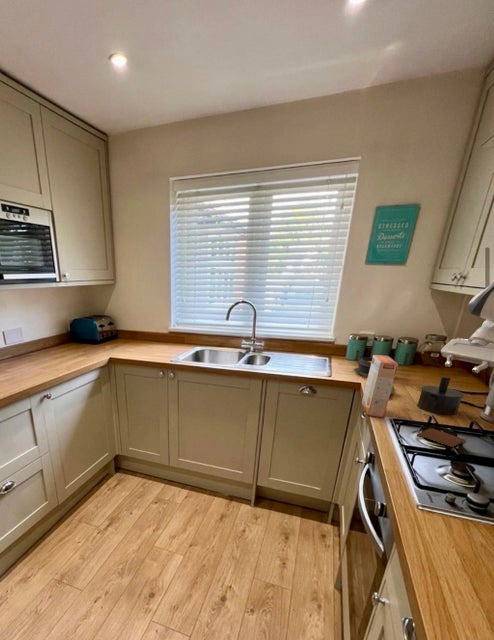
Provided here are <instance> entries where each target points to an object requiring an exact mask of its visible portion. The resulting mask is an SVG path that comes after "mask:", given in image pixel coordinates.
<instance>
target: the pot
mask: <svg viewBox="0 0 494 640" xmlns="http://www.w3.org/2000/svg"><path fill="white" fill-rule="evenodd" d="M420 391H421V392H420V394H419V398H418V401H417V404H416V406H417V408H418V409H419V410H422V411H424V412H427V413H430V414H434V415H440V416H447V417H448V416H449V417H450V416H455V415H457V414H458V411H459V408H460V406H461V403H462V399H463V397H462V398H448V397H441V396H436V395H432V394H429V393H426V392H424V391H422V390H420ZM430 414H425V413H424V415H425V416H428V417H430ZM434 418H435V419H436V418H437V417H435V416H434Z"/></svg>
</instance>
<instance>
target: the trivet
mask: <svg viewBox="0 0 494 640" xmlns="http://www.w3.org/2000/svg"><path fill="white" fill-rule="evenodd" d="M416 437H418V438H420V437H425V438H427V439H430V440H433V441H436V442H438V443H441V444H445V445H447V446H450V447H454V446H456V445H457V446H459V445H461V444H462V443H464V442H466V439H465V438H462V437H460V436H456V435H454V434H450V433H447V432H444V431H441V430H438V429H435V428H432V427H429V428H427V429H425V430H423V431H421V432H419V433H417V434H416ZM457 446H456V447H457ZM454 448H455V447H454Z"/></svg>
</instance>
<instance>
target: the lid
mask: <svg viewBox="0 0 494 640" xmlns="http://www.w3.org/2000/svg"><path fill="white" fill-rule="evenodd" d="M450 382H451V377H450V376H445V375H443V376H441V379H440V382H439V385H422V386H421V388H420V391H424V392H426V393H429V394H432V395H436V396H441V397H448V398H462V399H463V398H464V396H465V394H464V393H463V392H461V391H460V390H457V389H454V388H449V385H450Z"/></svg>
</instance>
